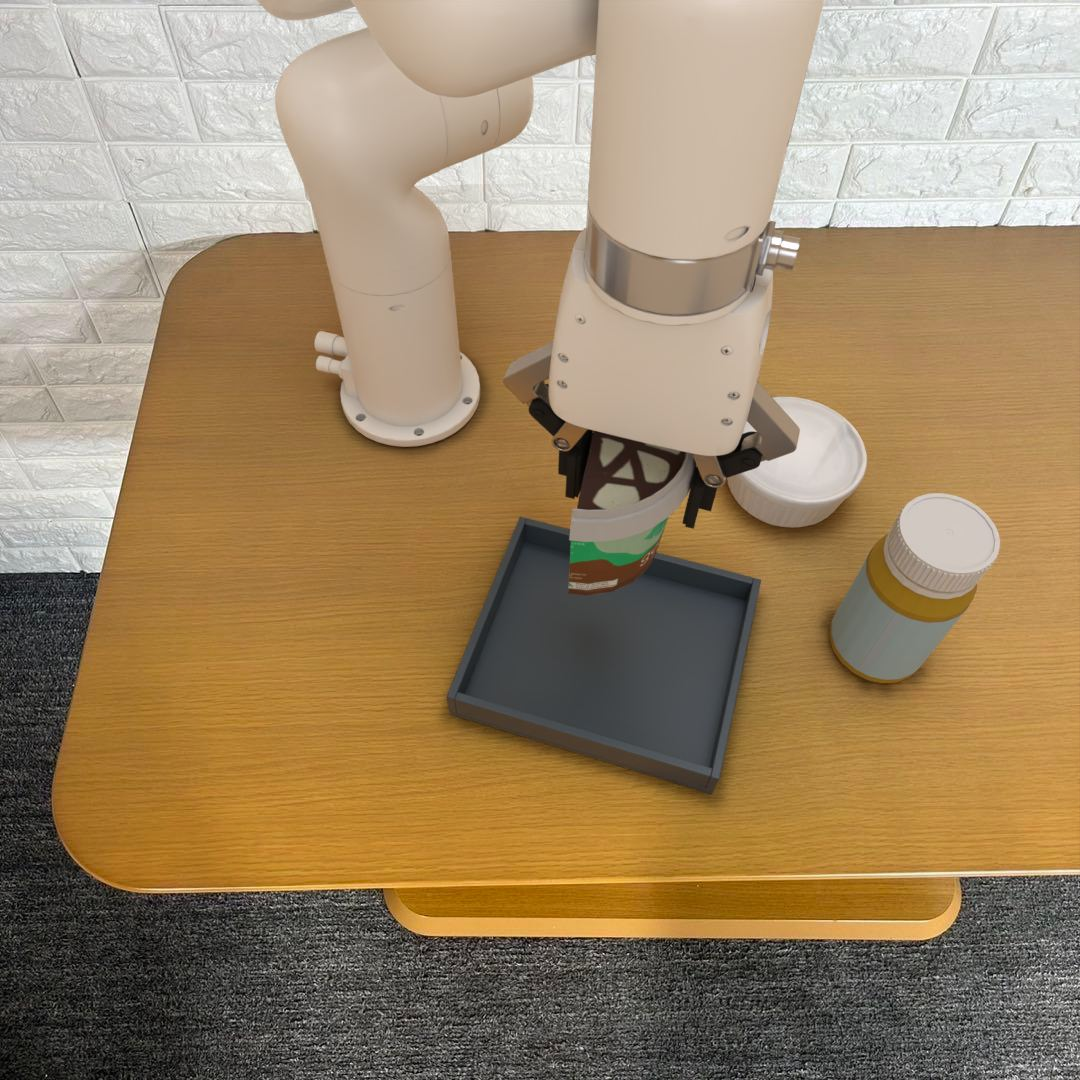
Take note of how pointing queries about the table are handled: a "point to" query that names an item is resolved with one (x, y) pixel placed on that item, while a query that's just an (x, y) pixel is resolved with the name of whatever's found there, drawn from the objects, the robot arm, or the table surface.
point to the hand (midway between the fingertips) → (635, 492)
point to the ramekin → (804, 469)
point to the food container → (623, 510)
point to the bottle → (913, 587)
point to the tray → (610, 659)
